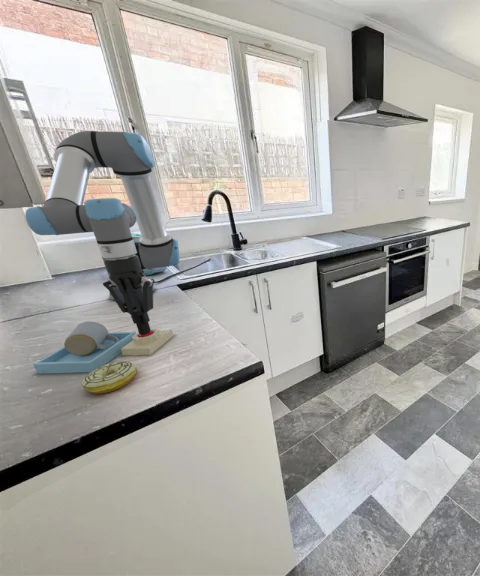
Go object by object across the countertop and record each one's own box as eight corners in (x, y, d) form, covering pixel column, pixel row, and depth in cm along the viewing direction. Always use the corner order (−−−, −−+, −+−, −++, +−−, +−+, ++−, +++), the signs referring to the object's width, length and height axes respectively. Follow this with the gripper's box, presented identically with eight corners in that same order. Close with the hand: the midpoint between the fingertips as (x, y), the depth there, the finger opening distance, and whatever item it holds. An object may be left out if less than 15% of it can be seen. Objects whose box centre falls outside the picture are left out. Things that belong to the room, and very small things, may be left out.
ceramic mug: (67, 360, 86) (56, 336, 83) (80, 345, 93) (71, 323, 90) (114, 352, 90) (106, 328, 87) (123, 339, 97) (116, 317, 94)
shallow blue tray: (91, 341, 97) (87, 333, 96) (138, 340, 98) (135, 331, 97) (37, 373, 82) (33, 364, 81) (94, 372, 82) (90, 362, 81)
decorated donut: (143, 365, 85) (139, 353, 83) (134, 388, 76) (129, 375, 75) (94, 376, 80) (89, 364, 79) (79, 402, 71) (73, 388, 70)
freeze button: (145, 335, 96) (143, 330, 95) (157, 334, 96) (155, 329, 95) (137, 341, 92) (135, 336, 92) (149, 340, 92) (147, 335, 92)
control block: (148, 336, 100) (144, 325, 98) (173, 335, 100) (170, 324, 99) (122, 355, 90) (118, 343, 88) (150, 354, 90) (146, 342, 88)
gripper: (84, 261, 81) (113, 339, 89) (135, 260, 81) (159, 338, 90) (107, 253, 88) (132, 327, 96) (153, 253, 88) (174, 326, 97)
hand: (145, 332), depth 93 cm, fingers closed
